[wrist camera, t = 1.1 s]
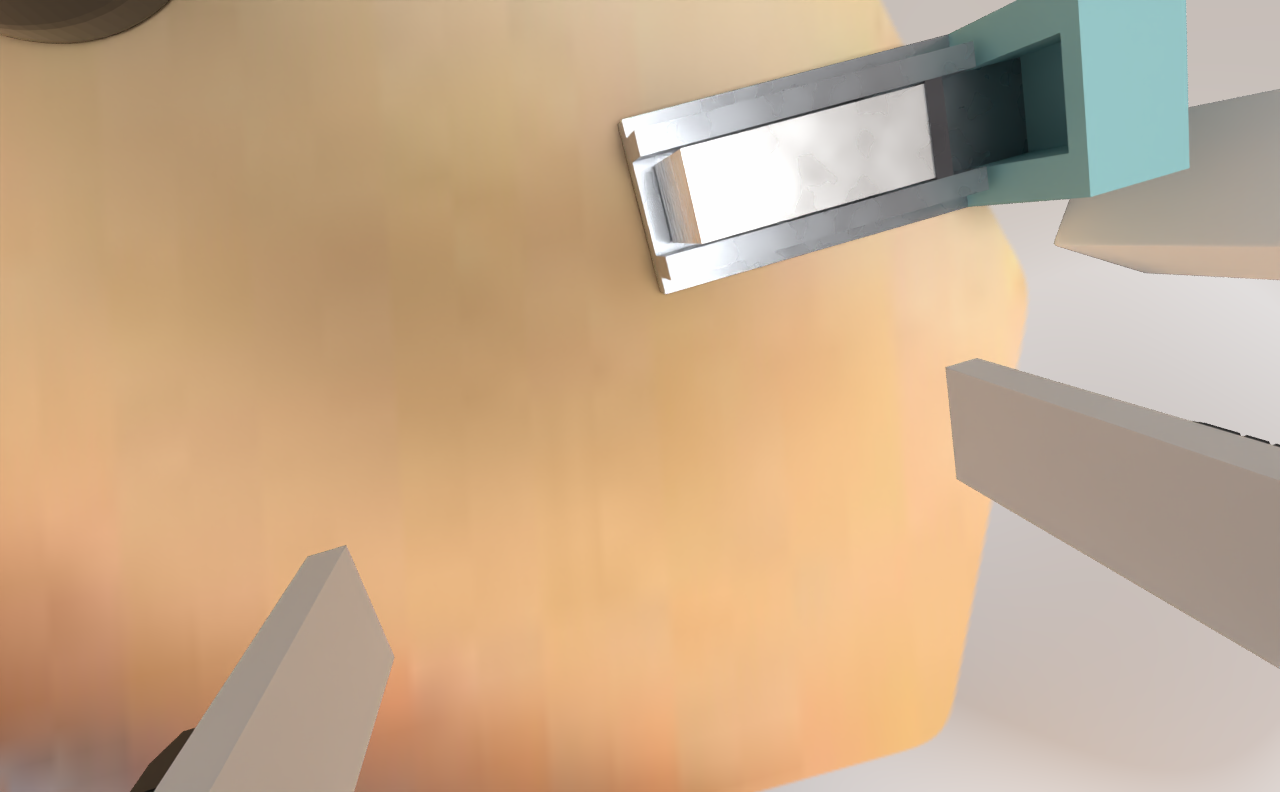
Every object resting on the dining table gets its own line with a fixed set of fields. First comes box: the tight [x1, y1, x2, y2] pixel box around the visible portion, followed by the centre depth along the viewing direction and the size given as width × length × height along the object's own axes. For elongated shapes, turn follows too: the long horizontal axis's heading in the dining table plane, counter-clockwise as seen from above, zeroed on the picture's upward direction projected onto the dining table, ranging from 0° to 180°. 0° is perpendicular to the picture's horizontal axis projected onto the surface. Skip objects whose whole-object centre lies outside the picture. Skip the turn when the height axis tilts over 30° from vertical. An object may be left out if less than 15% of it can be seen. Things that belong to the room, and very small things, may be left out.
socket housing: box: [948, 0, 1190, 207], centre depth 31 cm, size 9×5×8 cm, turn 15°
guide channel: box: [618, 35, 1028, 294], centre depth 34 cm, size 9×23×4 cm, turn 105°
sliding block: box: [654, 76, 954, 244], centre depth 31 cm, size 4×12×6 cm, turn 105°
